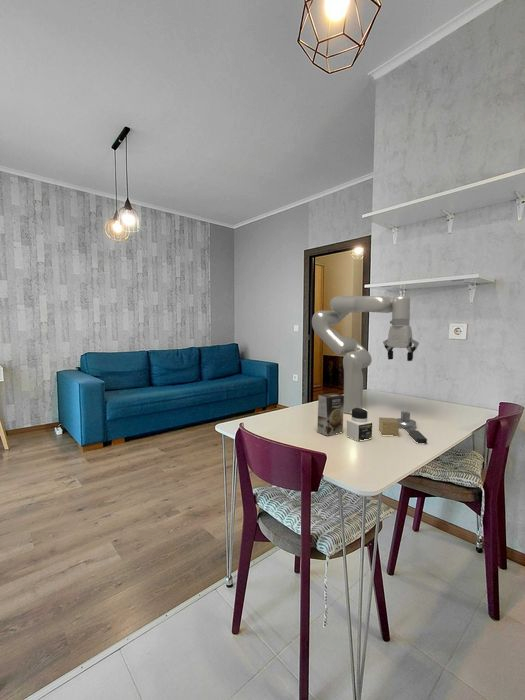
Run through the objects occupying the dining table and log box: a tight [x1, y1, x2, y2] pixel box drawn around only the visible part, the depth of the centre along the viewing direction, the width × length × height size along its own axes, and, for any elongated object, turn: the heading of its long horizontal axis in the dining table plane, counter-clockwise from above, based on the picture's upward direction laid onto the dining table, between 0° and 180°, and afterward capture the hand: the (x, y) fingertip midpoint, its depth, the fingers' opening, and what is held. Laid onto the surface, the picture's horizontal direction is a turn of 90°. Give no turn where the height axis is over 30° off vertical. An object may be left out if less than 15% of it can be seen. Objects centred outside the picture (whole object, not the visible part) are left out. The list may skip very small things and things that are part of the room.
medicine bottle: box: [345, 407, 373, 441], centre depth 133 cm, size 7×7×12 cm
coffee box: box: [317, 392, 344, 437], centre depth 139 cm, size 9×6×16 cm
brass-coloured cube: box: [378, 417, 400, 437], centre depth 139 cm, size 6×6×6 cm
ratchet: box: [395, 410, 428, 443], centre depth 141 cm, size 9×26×6 cm, turn 173°
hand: (399, 360), depth 155 cm, fingers open, 9 cm apart
